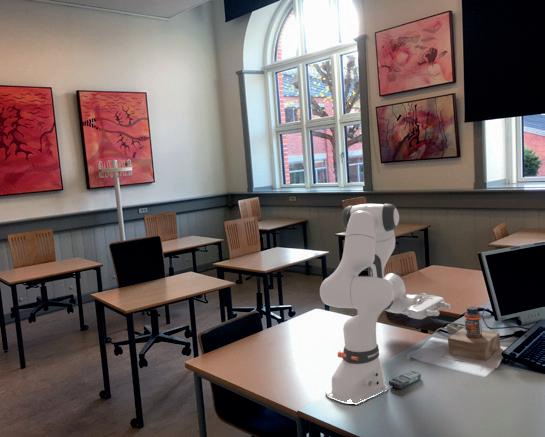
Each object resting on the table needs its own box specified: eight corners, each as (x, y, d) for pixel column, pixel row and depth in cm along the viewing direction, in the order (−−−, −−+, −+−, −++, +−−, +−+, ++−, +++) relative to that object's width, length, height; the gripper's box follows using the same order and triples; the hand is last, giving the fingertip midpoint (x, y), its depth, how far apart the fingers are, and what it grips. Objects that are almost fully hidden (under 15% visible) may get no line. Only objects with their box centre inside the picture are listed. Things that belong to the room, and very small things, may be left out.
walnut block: (485, 360, 180) (483, 345, 180) (449, 352, 191) (447, 338, 190) (500, 347, 190) (499, 332, 189) (465, 341, 200) (464, 326, 199)
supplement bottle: (464, 338, 188) (463, 309, 187) (466, 332, 193) (464, 304, 192) (481, 339, 185) (480, 310, 184) (482, 333, 191) (480, 305, 189)
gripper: (399, 305, 200) (430, 310, 190) (424, 291, 213) (455, 295, 203) (400, 320, 200) (432, 325, 190) (426, 305, 214) (456, 310, 204)
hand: (444, 310), depth 197 cm, fingers open, 8 cm apart
